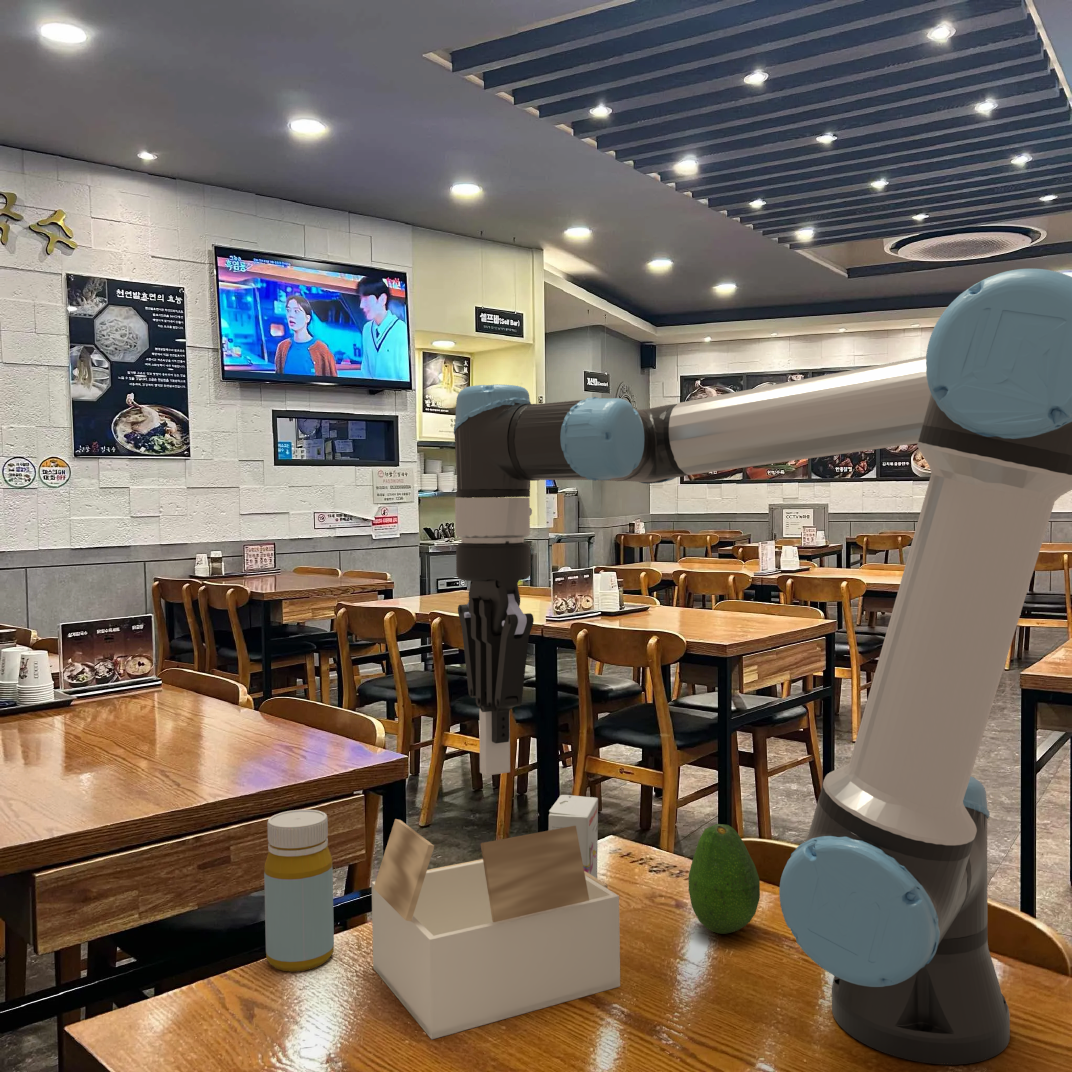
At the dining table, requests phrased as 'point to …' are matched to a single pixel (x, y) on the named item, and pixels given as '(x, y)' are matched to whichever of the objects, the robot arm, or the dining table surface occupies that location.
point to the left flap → (403, 869)
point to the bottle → (298, 891)
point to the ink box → (579, 825)
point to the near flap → (534, 873)
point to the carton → (491, 952)
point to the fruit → (723, 881)
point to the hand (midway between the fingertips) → (494, 771)
